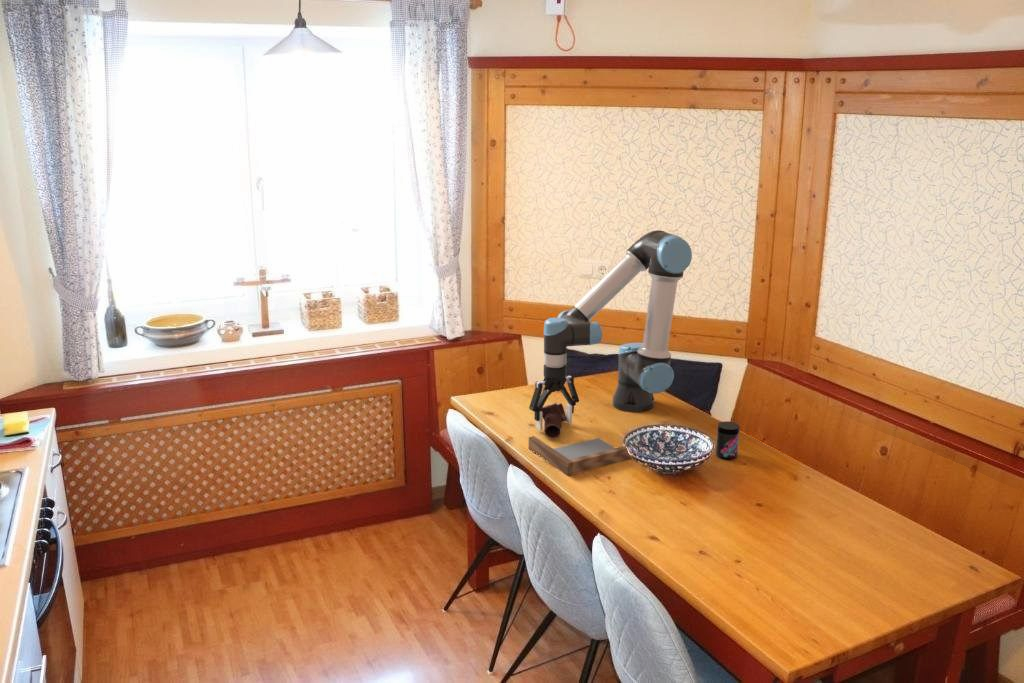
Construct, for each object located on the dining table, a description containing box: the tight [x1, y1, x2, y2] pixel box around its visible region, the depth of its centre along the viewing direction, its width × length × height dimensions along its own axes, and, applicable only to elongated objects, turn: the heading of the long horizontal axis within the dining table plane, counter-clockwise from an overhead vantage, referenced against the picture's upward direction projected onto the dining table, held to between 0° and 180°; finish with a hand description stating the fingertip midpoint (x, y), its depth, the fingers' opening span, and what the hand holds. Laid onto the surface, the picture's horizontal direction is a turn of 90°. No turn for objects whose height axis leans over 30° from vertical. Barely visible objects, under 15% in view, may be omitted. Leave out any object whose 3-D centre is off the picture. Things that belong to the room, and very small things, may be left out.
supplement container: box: [715, 420, 741, 461], centre depth 270 cm, size 7×7×10 cm
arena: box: [528, 435, 633, 477], centre depth 273 cm, size 24×23×4 cm
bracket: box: [541, 402, 566, 439], centre depth 292 cm, size 6×17×10 cm, turn 177°
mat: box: [553, 437, 616, 460], centre depth 276 cm, size 20×11×1 cm, turn 119°
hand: (554, 425), depth 293 cm, fingers closed on bracket, 11 cm apart
